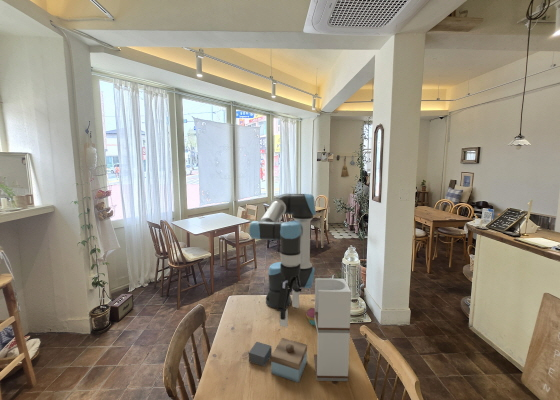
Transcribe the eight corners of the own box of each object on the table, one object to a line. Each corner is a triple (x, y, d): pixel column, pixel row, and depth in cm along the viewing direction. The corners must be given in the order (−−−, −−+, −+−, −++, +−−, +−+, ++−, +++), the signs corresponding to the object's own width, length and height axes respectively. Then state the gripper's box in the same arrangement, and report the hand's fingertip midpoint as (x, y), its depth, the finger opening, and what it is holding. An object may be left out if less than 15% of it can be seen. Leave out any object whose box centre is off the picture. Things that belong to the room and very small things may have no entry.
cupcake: (309, 316, 132) (309, 295, 131) (324, 320, 128) (325, 298, 127) (303, 325, 124) (304, 302, 123) (320, 330, 121) (320, 306, 119)
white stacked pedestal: (341, 359, 102) (344, 278, 98) (347, 381, 91) (351, 291, 87) (313, 358, 102) (315, 278, 98) (317, 380, 92) (318, 291, 88)
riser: (256, 350, 107) (256, 341, 107) (271, 354, 104) (271, 345, 104) (248, 361, 101) (248, 352, 100) (264, 366, 98) (264, 357, 98)
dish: (281, 353, 105) (281, 343, 104) (306, 361, 101) (307, 350, 100) (271, 373, 95) (271, 361, 94) (298, 382, 91) (298, 370, 90)
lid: (281, 343, 104) (281, 334, 104) (307, 350, 100) (307, 341, 100) (271, 361, 94) (271, 352, 94) (298, 370, 90) (298, 360, 90)
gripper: (291, 251, 106) (291, 298, 108) (267, 274, 83) (267, 333, 85) (308, 254, 103) (308, 301, 105) (288, 278, 80) (288, 338, 83)
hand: (290, 315), depth 95 cm, fingers open, 13 cm apart
